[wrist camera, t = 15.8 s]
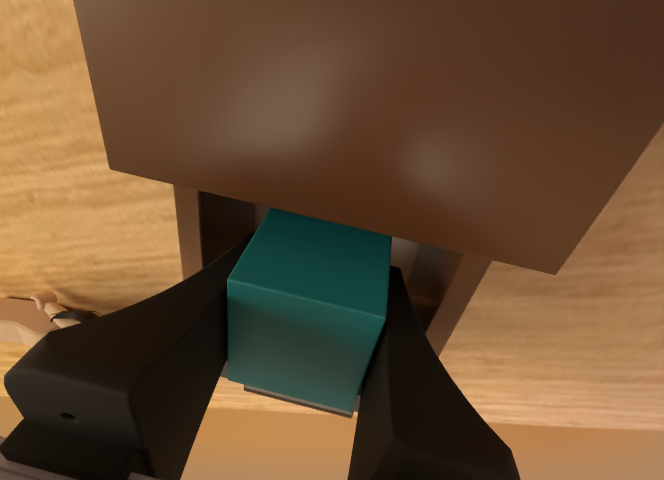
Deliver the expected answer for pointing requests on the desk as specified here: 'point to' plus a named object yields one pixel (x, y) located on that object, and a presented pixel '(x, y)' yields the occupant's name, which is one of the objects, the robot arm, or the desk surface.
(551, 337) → the desk surface
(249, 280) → the teal rectangular block
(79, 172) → the desk surface
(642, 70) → the cabinet
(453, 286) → the drawer
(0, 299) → the toy figure
